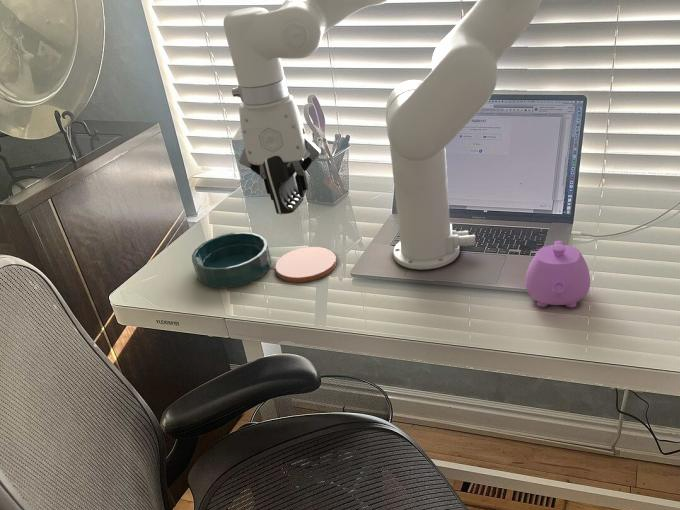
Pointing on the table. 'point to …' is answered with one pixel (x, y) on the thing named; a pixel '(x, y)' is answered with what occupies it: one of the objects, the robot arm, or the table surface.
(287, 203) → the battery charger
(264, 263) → the bowl
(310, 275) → the plate
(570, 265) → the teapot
